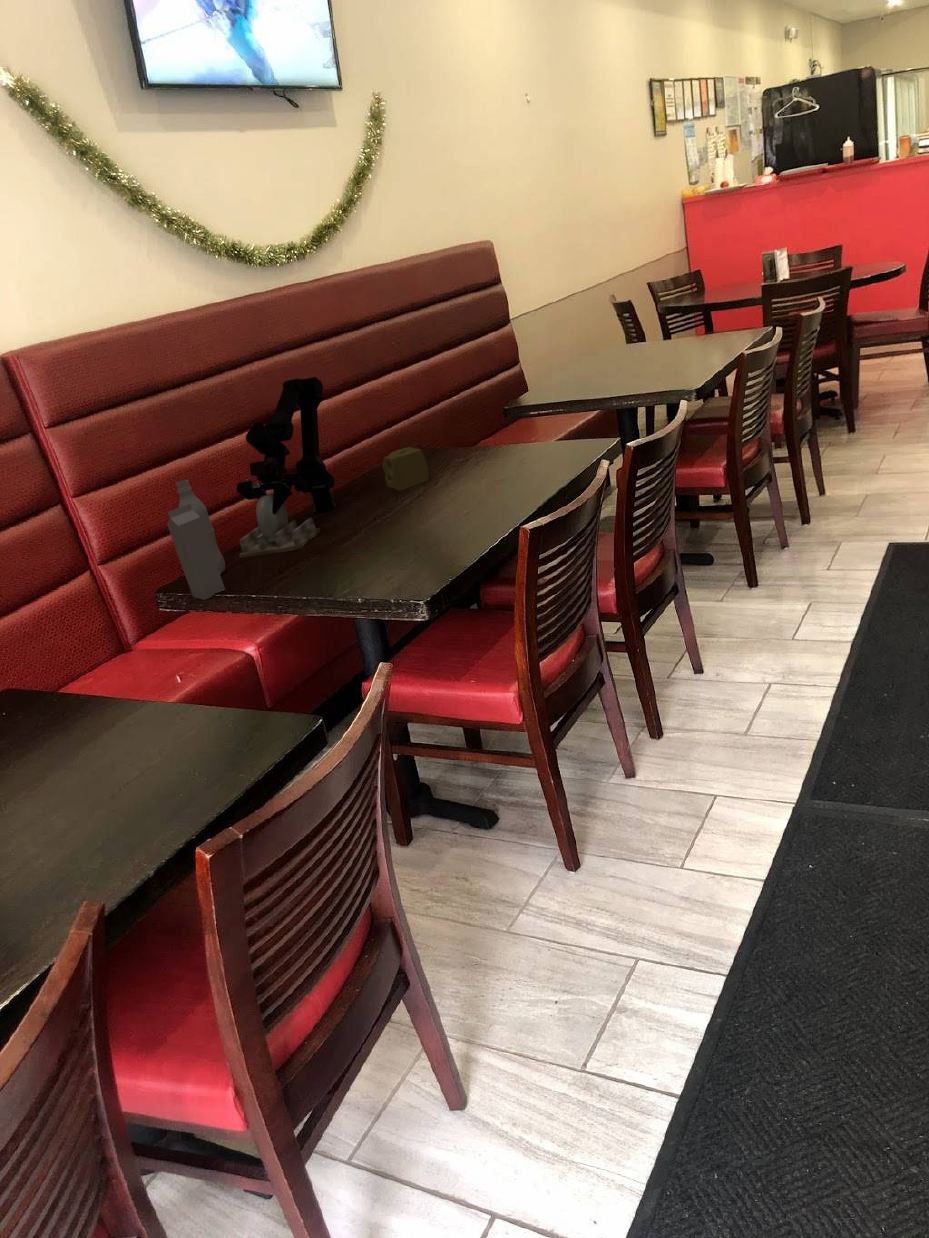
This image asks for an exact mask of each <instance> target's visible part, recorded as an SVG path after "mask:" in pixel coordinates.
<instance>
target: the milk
mask: <svg viewBox="0 0 929 1238" xmlns="http://www.w3.org/2000/svg"><path fill="white" fill-rule="evenodd" d="M168 517H169V520H168V522H167V524H166V525H167V529H168V531H169V533H170V537H171V539H172V542H173V545H174V548H175V550H176V553H177V556H178V559H179V562H180V565H181V567H182V570H183V573H184V576H185V578H186V582H187V584H188V588H189V590H190V593H191V595H192V598H193V599H198V600H202V601H206V600H208V599H210V598H213V597H214V596H213V595H214V594H215V593H218V592H221V591H224V590H225V591H226V588H225V585H224V582H223V579H222V576H221V575H220V573H219V570H218V567H217V564H216V561H215V558H214V555H213V552H212V550H211V547H210V544H209V541H208V538H207V535H206V532H205V529H204V526H203V523H202V520H201V518H200V516H199V515H198V514H197V513H196V512H195V511H193V510H192V507H191V504H187V505H185V506H182V507H180V508H179V507H177V508H175V509H172V510H169V511H168ZM225 591H224V592H225ZM212 596H213V597H212Z"/></svg>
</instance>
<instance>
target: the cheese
mask: <svg viewBox="0 0 929 1238" xmlns="http://www.w3.org/2000/svg"><path fill="white" fill-rule="evenodd" d="M382 469H383V471H384V479H385V483H386V484H385V485H386V486H387V487H388V488H392V489H394V490H397V492H401V491H404V490H407V489H410V488H412V487H415V486H418V485H421V484H423V483H427V482H430V481H429V480H430V477H429V469H428V464H427V460H426V457H425V455H424V453H423V450H422V449H419V448H416V447H415V448H414V447H411V446H406V447H403V448H399V449H396V450H394V451H391V452H390V453H389V454H388V455H386V456H384V457H383V462H382Z"/></svg>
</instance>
